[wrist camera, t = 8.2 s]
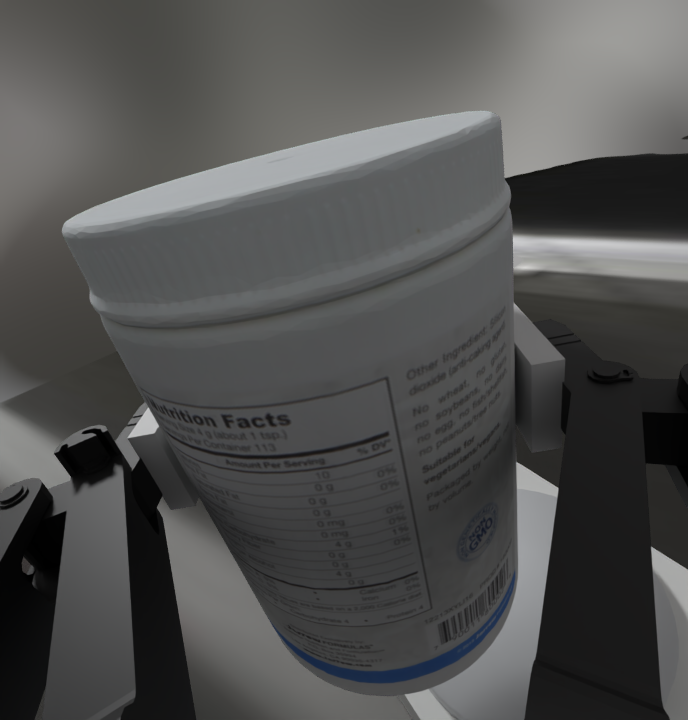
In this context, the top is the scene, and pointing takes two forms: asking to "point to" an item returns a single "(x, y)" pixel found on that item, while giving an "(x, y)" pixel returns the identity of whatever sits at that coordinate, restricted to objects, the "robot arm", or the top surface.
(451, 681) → the scale
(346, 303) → the supplement tub
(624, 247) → the top surface
